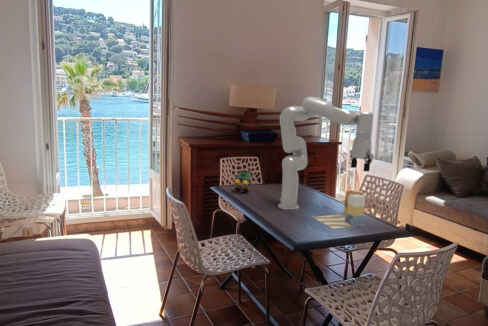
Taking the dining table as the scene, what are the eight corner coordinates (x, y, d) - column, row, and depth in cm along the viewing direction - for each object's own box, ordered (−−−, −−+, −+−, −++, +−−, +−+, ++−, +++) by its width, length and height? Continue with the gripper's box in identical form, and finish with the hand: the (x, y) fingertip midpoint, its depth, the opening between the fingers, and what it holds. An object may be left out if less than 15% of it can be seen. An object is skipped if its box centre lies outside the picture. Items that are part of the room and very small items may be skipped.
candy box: (359, 217, 219) (362, 191, 216) (359, 219, 215) (362, 192, 212) (343, 215, 221) (346, 189, 219) (343, 217, 217) (346, 191, 214)
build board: (311, 219, 211) (312, 208, 210) (341, 216, 219) (342, 205, 218) (332, 230, 194) (333, 218, 193) (364, 227, 202) (365, 215, 201)
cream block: (347, 203, 204) (348, 194, 203) (356, 203, 206) (357, 194, 205) (355, 206, 198) (356, 197, 197) (364, 206, 201) (365, 196, 200)
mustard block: (346, 212, 204) (347, 203, 204) (355, 212, 207) (356, 203, 206) (354, 216, 199) (355, 207, 198) (363, 215, 201) (364, 206, 201)
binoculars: (232, 195, 265) (229, 179, 255) (238, 182, 275) (235, 166, 265) (252, 198, 261) (250, 181, 251) (257, 184, 271) (255, 168, 261)
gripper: (346, 134, 202) (343, 166, 205) (369, 138, 187) (365, 172, 190) (357, 134, 205) (354, 166, 208) (381, 138, 190) (377, 172, 193)
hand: (359, 169), depth 199 cm, fingers open, 9 cm apart
